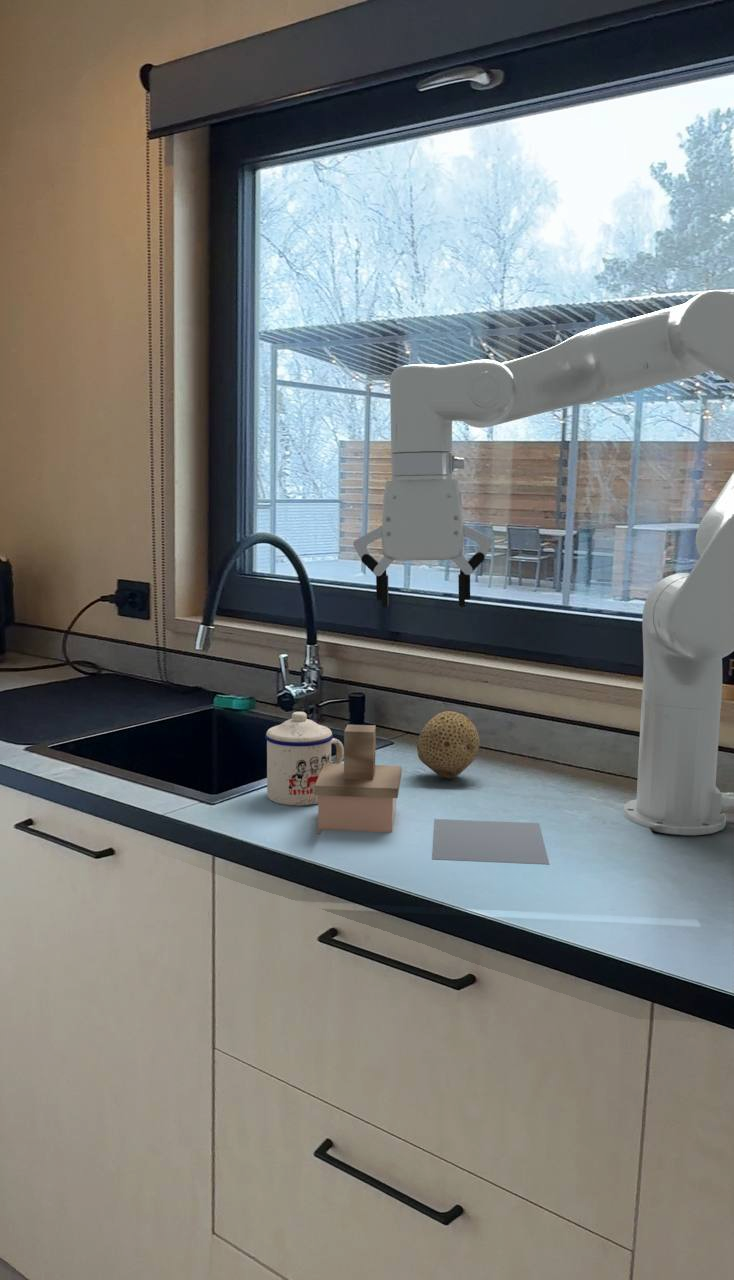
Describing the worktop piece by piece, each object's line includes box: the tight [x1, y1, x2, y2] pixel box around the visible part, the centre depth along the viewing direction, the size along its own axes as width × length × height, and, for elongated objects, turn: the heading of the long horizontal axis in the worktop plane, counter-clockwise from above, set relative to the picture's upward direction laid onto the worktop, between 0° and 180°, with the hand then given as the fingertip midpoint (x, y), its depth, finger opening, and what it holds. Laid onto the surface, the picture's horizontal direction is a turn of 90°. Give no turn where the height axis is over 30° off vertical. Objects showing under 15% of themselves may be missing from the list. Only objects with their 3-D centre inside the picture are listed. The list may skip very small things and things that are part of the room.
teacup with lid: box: [264, 711, 344, 807], centre depth 139 cm, size 12×9×12 cm
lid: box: [314, 724, 403, 799], centre depth 127 cm, size 10×10×7 cm
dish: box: [317, 795, 398, 835], centre depth 128 cm, size 9×9×5 cm
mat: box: [431, 818, 550, 866], centre depth 121 cm, size 13×14×1 cm
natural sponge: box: [416, 710, 480, 780], centre depth 147 cm, size 9×9×10 cm
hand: (423, 606), depth 129 cm, fingers open, 9 cm apart
